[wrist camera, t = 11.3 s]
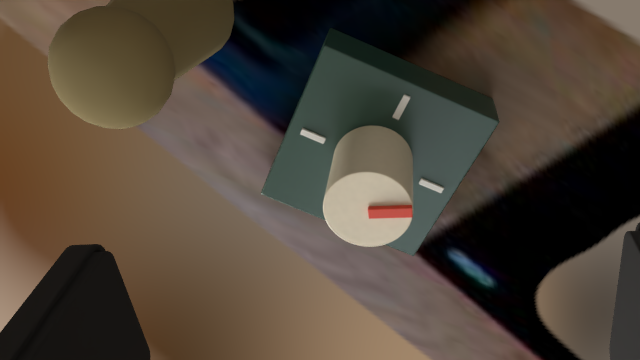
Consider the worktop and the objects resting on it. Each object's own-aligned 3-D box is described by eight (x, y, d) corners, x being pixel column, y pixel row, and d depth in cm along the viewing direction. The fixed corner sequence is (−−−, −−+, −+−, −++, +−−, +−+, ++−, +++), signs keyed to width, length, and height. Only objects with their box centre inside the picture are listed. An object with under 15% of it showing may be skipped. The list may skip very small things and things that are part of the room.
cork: (244, 55, 35) (184, 145, 26) (146, 66, 36) (54, 155, 27) (220, -55, 32) (143, 0, 23) (114, -40, 33) (-2, 18, 24)
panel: (330, 27, 34) (323, 45, 31) (493, 98, 35) (500, 123, 32) (270, 169, 39) (259, 195, 36) (413, 228, 40) (413, 258, 37)
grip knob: (337, 195, 36) (327, 251, 31) (329, 127, 33) (316, 176, 29) (414, 192, 35) (415, 250, 30) (411, 122, 33) (411, 173, 28)
